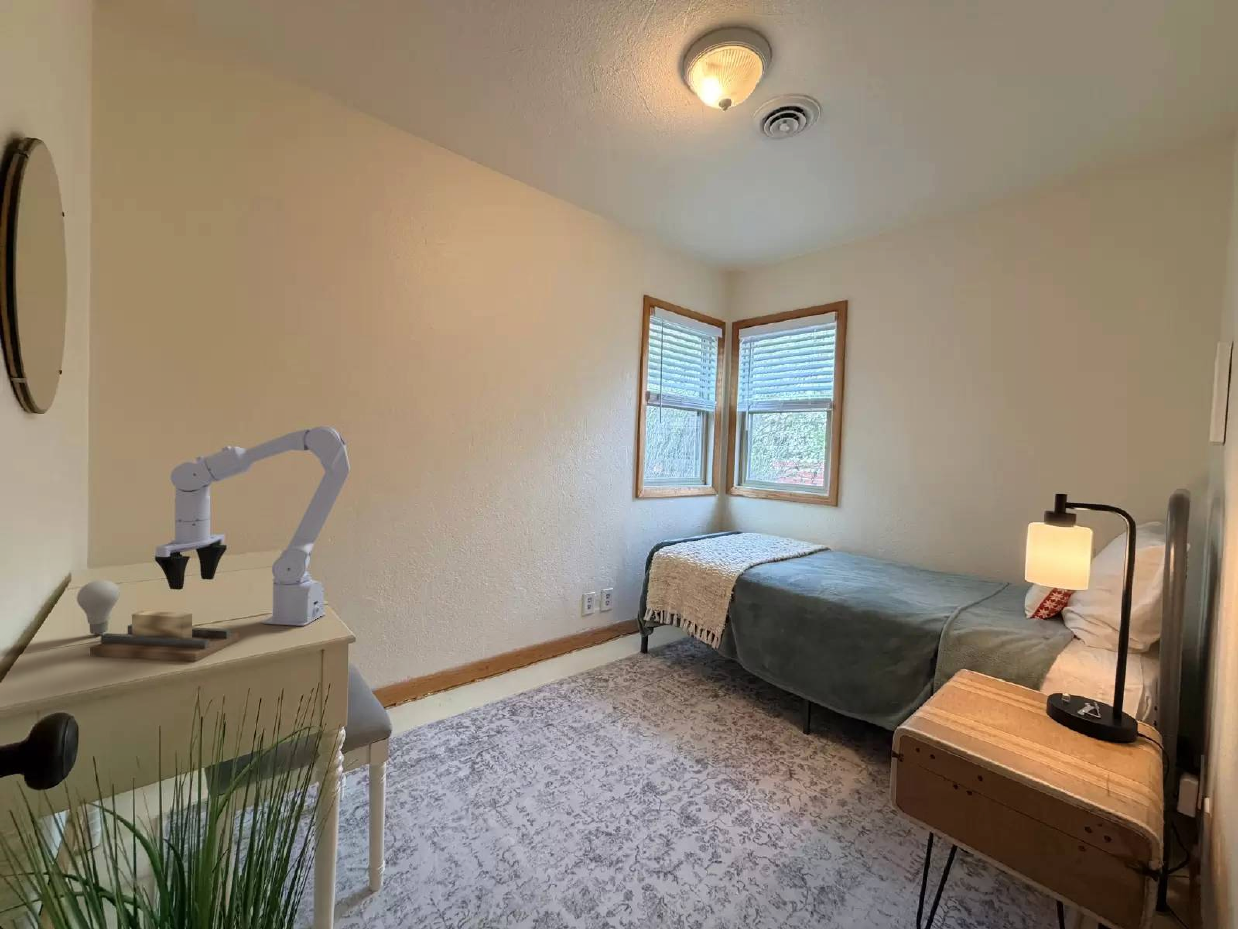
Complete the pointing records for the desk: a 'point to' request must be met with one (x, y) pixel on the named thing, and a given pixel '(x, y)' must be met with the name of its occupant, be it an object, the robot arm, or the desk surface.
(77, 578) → the desk surface
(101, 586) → the lightbulb
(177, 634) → the wooden block
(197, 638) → the track board
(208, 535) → the robot arm
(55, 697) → the desk surface
